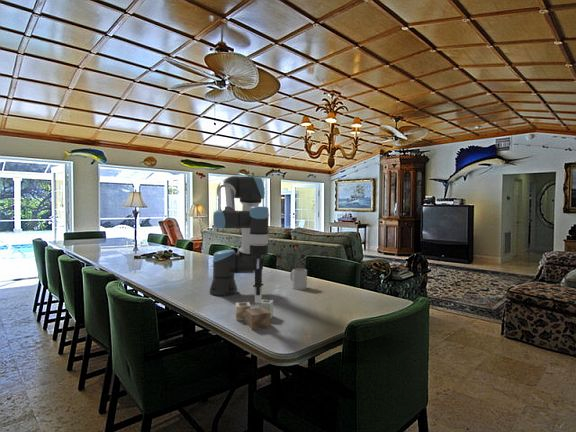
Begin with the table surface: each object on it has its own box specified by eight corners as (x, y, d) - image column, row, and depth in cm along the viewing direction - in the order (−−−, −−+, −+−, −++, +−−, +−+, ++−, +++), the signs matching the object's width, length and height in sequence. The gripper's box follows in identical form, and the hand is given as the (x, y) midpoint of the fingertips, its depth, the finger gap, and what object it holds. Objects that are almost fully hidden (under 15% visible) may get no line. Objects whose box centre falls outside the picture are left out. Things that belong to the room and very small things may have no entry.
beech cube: (236, 320, 145) (236, 306, 145) (235, 316, 151) (235, 302, 151) (250, 320, 146) (250, 305, 146) (249, 315, 152) (249, 301, 152)
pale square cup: (258, 318, 148) (258, 302, 148) (262, 315, 153) (262, 299, 152) (269, 319, 147) (270, 303, 146) (273, 316, 152) (273, 299, 151)
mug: (309, 288, 203) (310, 269, 203) (299, 290, 197) (299, 271, 197) (295, 284, 212) (295, 267, 211) (285, 286, 206) (285, 268, 206)
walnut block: (251, 330, 134) (251, 315, 134) (245, 323, 142) (245, 309, 141) (270, 327, 138) (270, 312, 138) (263, 321, 145) (263, 307, 145)
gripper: (267, 246, 132) (266, 307, 133) (268, 242, 145) (267, 298, 146) (248, 246, 132) (247, 306, 133) (250, 242, 145) (250, 297, 146)
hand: (258, 302), depth 139 cm, fingers closed
